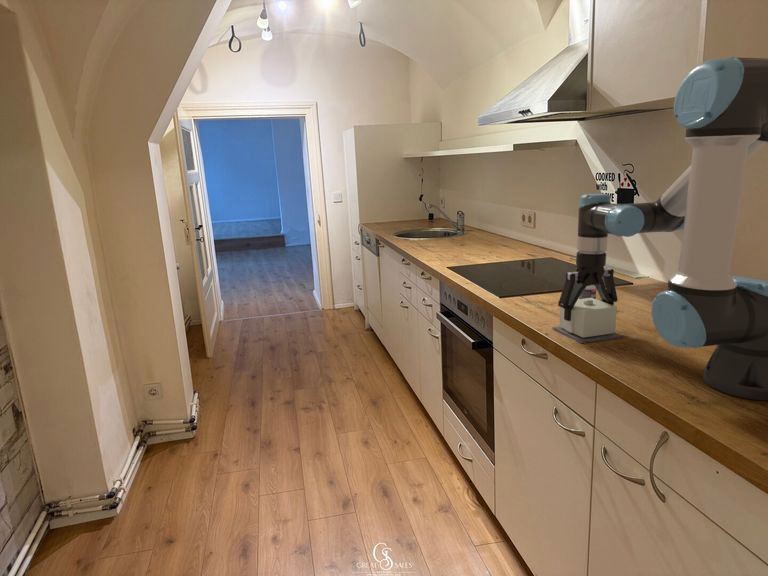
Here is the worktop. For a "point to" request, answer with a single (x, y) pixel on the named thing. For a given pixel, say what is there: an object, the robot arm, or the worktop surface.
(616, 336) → the mat
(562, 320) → the cover
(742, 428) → the worktop surface
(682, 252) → the robot arm
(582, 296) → the pill bottle
